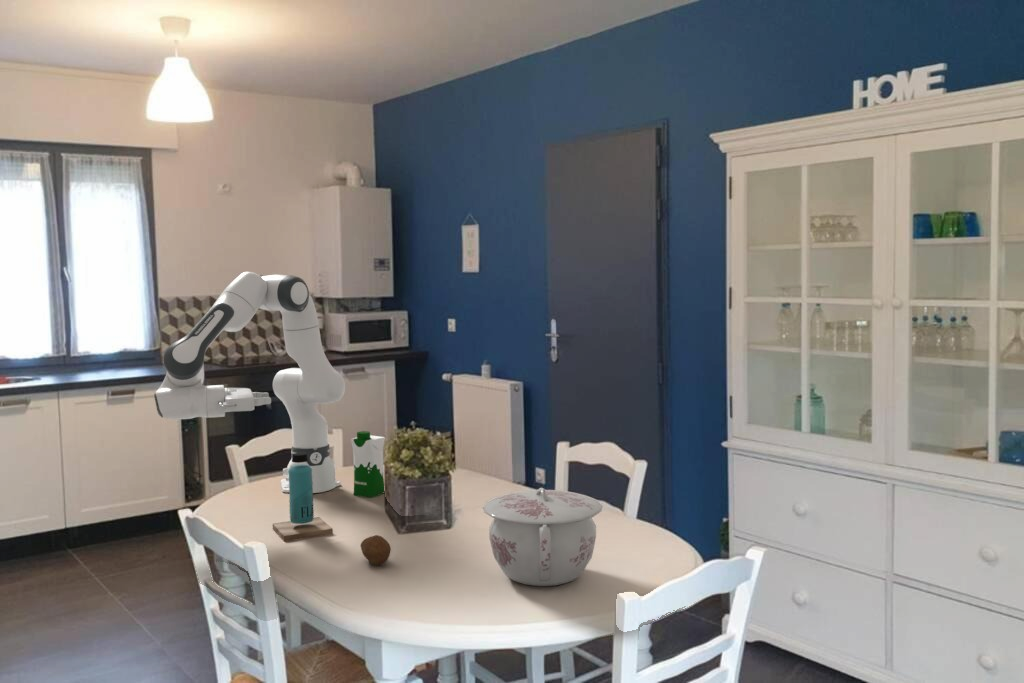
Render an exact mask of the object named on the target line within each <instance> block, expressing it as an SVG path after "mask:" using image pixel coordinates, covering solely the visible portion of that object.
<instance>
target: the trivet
mask: <svg viewBox="0 0 1024 683" xmlns="http://www.w3.org/2000/svg"><path fill="white" fill-rule="evenodd" d="M272 530H273V531H274V532H275V533H276V535H278V537H280V539H281V540H282V541H283V542H291V541H296V540H305V539H309V538H315V537H323V536H329V535H330V536H331V535H333V534H334V531H333V530H334V529H333V528H332V527H331V525H329V524H328V523H327V522H325V520H323V519H322V518H321V517H320V516H317V517H316V516H314V518H313V521H312V522H309V523H304V524H295V523H292V522H291V520H289V521H282V522H274V523H272Z"/></svg>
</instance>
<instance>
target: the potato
mask: <svg viewBox="0 0 1024 683" xmlns="http://www.w3.org/2000/svg"><path fill="white" fill-rule="evenodd" d="M360 550H361V552H362V555H363V556H364V558H366V560H368V562H370V563H371V564H372V565H375V566H381V565H384V564H385V563H386V562H387V561H388V560H389V558H390V555H391V551H392V550H391V545H390V543H389V542H388V540H387V539H385V538H384V537H382V535H377V534H376V535H373V536H372V535H371V536H369V537H366V538H364V539H363V540H362V541H361V543H360Z"/></svg>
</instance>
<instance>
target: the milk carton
mask: <svg viewBox="0 0 1024 683" xmlns="http://www.w3.org/2000/svg"><path fill="white" fill-rule="evenodd" d="M385 441H386V437H385V436H380V435H379V436H377V435H372V434H371V432H370V431H368V430H367V431H365V430H363V431H358V432H356V437H353V438H350V443H351V447H352V452H353V495H354V496H358V497H363V498H367V499H371V498H374V497H377V496H380V495H383V494H384V493H383V492H384V486H385V478H384V446H385Z"/></svg>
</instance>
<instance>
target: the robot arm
mask: <svg viewBox="0 0 1024 683" xmlns="http://www.w3.org/2000/svg"><path fill="white" fill-rule="evenodd" d="M258 310H260V311H262V310H264V311H269V312H280V314H281V316H282V318H281V320H282V322H281V323H282V332H283V338H284V346H285V351H286V353H287V355H288V356H289V357H290V358H291V359H293V360H294V361H295V362H296V363H297V365H298V367H290V368H285V369H281V370H278V372H276V374H275V375H274V377H273V380H272V390H273V393H274V395H275V396H276V397H277V398H278V399H279V400H280V402H282V404H283V406H285V409H286V410H287V413H288V415H289V419H290V424H291V433H292V446H291V450H290V453H291V454H290V456H291V459H290V460H289V462H288V464H287V467H284V468H282V475H283V476H286V477H284V478H282V479H280V485H281V490H282V493H290V492H289V472H288V471H289V469H290V468H291V467H292V466H294V465H298V464H305V465H308V466H309V467H311V468H312V482H313V484H312V486H313V487H312V489H313V494H317V493H325V492H328V491H331V490H333V489H335V488H337V487H339V486H341V485H342V484H341V481H339V480H337V477H336V463H335V461H334V460H333V458H331V456H330V455H331V453H330V451H331V447H330V444H329V436H328V433H329V432H328V428H329V427H328V421H327V419H326V417H324V416H323V414H322V413H320V412H319V411H318V409H317V407H316V405H315V404H317V405H318V404H319V405H326V404H331V403H337V402H339V401H341V399H342V397H344V394H345V392H346V382H345V379H344V377H343V375H342V374H341V373H339V372H338V370H336V369H335V368H334V367H333V366H332V364H331V363H330V361H329V359H328V358H327V356H326V354H325V351H324V347H323V343H322V338H321V337H322V336H321V332H320V326H319V318H318V312H317V309H316V305H315V302H314V300H313V297H312V295H310V291H309V287H308V285H307V283H306V281H305V280H304V279H303V278H301V277H299V276H296V275H292V274H291V275H289V274H288V275H286V274H279V273H278V274H269V275H268V274H267V275H264V274H263V275H262V274H258V273H257V272H253V271H244V272H242V273H240V274H239V275H238V276H237V277H236V278H234V280H232V281H231V282H230V283H229V284H228V285H227V287H226V288H224V289H223V291H222V292H221V294H220V295H219V296H218V298H217V299H216V300H215V302H213V305H212V306H211V307H210V309H209V310H208V311H207V312H206V313H205V314H204V315H203V316H202V317H201V319H199V321H198V322H197V323H196V324H195V326H194V327H193V328H192V329H191V330H190V331H189V332H188V333H187V334H186V335H185V336H184V337H182V338H180V339H179V340H177V341H175V342H174V343H172V344H170V345H169V346H168V347H167V349H166V350H165V352H164V355H163V364H164V367H165V369H166V370H165V371H166V374H165V376H164V379H163V381H162V383H161V384H160V386H159V387H158V389H157V390H156V391H154V394H153V395H154V401H155V402H154V403H155V407H156V411H157V414H158V415H159V417H161V418H162V419H166V420H167V419H168V420H190V419H194V418H205V419H206V418H207V419H208V418H223V417H226V413H230V412H251V411H254V410H255V407H259V406H263V405H264V406H265V405H271V403H272V398H271V397H270V394H269V392H258V391H254V392H253V391H252V389H251V388H248V387H225V385H224V384H216V385H215V384H213V385H211V384H210V385H203V384H204V381H205V366H204V362H205V355H206V352H207V350H208V348H209V347H210V346H211V345H212V344H213V343H214V342H215V340H216V339H217V338H218V336H219V335H220V334H221V333H222V332H223V331H225V332H228V333H235V332H241V330H243V328H244V327H246V326H247V325H248V324H249V323H250V322H251V320H252V319H253V317H254V315H256V313H257V312H258ZM294 453H307V458H308V461H306V462H301V463H295V462H292V454H294Z"/></svg>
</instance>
